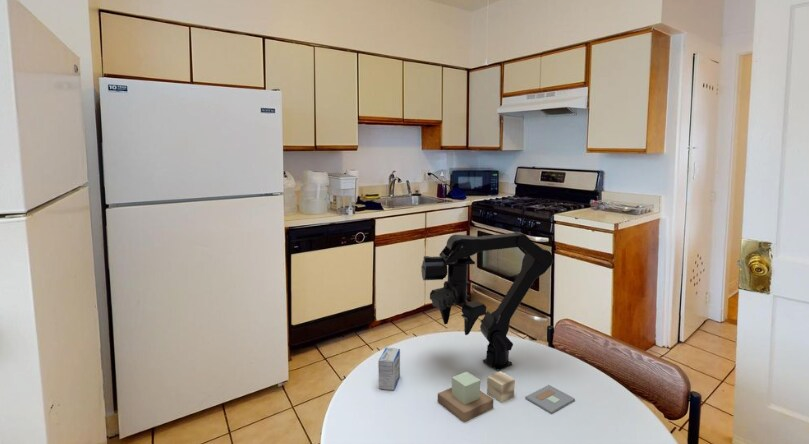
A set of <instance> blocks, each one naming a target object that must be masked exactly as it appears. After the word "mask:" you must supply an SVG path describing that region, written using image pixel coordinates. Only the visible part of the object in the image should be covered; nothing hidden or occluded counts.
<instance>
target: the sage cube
mask: <svg viewBox="0 0 809 444" xmlns="http://www.w3.org/2000/svg"><path fill="white" fill-rule="evenodd" d="M451 379H452V380H451V388H452V396H453V397H455V398H456V399H457V400H459V401H460V402H461V403H463V404H464V405H466V404H468V403H470V402H473V401H475V400H477V399H479V398H480V391H481V379H479V378H478V377H476V376H475V375H473V374H471V373H469V372H468V371H464V372H463V373H460V374H457V375H454V376H452V377H451Z"/></svg>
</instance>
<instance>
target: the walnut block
mask: <svg viewBox="0 0 809 444" xmlns="http://www.w3.org/2000/svg"><path fill="white" fill-rule="evenodd" d="M494 400H495V398H493V397H491V396H490V395H488V394H487V393H485V392H482V391H481V390H480V398H479V399H477V400H475V401H473V402H470V403H468V404H466V405H464V404H463V403H461V402H460V401H459V400H457V399H456V398H455V397H453V396H452V387H450V388H447V389H445V390H443V391H440V392H438V393H437V403H438V404H439V405H441V406H442V407H443V408H444V409H445V410H447V411H448V412H450V413H451V414H452V415H454V416H455V417H456V418H457V419H459V421H461V422H462V423H466V422H468V421H470V420H472V419H474V418H477V417H478V416H481V415H483V414H484V413H486V412H488V411H490V410H493V409H494Z"/></svg>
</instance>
